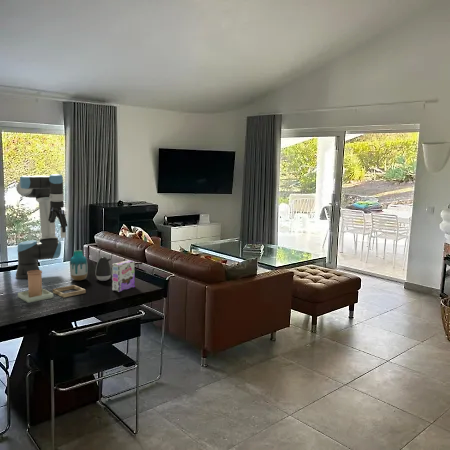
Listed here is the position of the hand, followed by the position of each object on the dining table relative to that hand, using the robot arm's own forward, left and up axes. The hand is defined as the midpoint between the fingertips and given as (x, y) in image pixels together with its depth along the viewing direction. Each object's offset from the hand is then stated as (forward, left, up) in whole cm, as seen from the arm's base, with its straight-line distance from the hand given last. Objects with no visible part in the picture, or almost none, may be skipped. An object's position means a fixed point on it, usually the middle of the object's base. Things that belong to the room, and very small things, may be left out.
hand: (58, 235), depth 272 cm
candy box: (+31, +26, -32) cm, 51 cm away
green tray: (+13, -21, -32) cm, 40 cm away
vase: (-5, +16, -32) cm, 36 cm away
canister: (+13, -21, -31) cm, 39 cm away
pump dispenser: (+5, +27, -32) cm, 42 cm away
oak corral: (+17, -3, -32) cm, 36 cm away
